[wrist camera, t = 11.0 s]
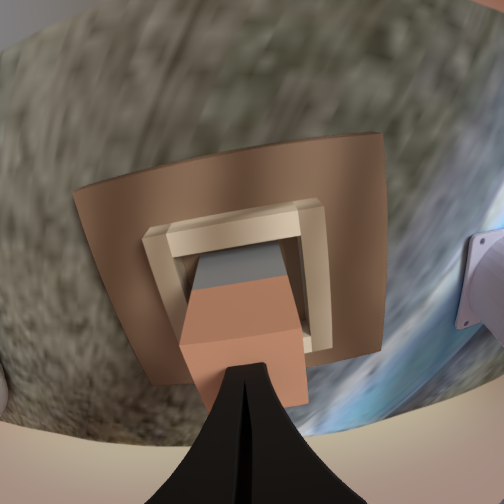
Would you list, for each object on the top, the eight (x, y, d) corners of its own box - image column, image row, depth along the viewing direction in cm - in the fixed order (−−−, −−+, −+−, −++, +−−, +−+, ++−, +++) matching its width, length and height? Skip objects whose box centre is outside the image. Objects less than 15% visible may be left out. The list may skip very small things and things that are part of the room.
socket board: (373, 131, 15) (396, 136, 13) (375, 340, 21) (388, 365, 19) (81, 186, 16) (58, 200, 13) (155, 374, 22) (148, 401, 19)
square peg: (277, 241, 16) (301, 327, 10) (287, 306, 18) (308, 403, 12) (200, 254, 16) (179, 345, 10) (217, 317, 18) (209, 416, 12)
